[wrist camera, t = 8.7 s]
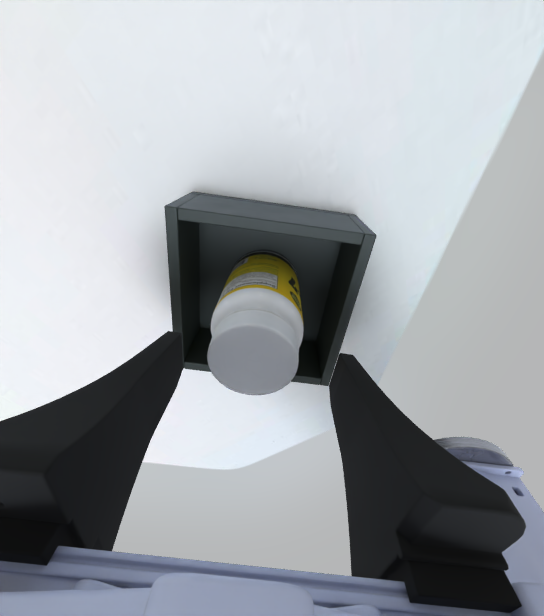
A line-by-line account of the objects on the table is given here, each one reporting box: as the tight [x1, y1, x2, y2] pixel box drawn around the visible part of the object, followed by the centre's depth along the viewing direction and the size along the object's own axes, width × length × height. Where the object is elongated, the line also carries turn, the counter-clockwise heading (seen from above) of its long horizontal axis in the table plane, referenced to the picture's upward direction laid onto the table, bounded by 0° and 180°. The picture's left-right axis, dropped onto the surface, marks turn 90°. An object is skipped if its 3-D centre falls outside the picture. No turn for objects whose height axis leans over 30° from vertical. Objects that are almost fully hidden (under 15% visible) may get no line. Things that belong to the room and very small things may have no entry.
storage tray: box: [165, 192, 376, 386], centre depth 18 cm, size 10×10×5 cm
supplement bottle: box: [207, 251, 303, 395], centre depth 16 cm, size 5×5×8 cm
